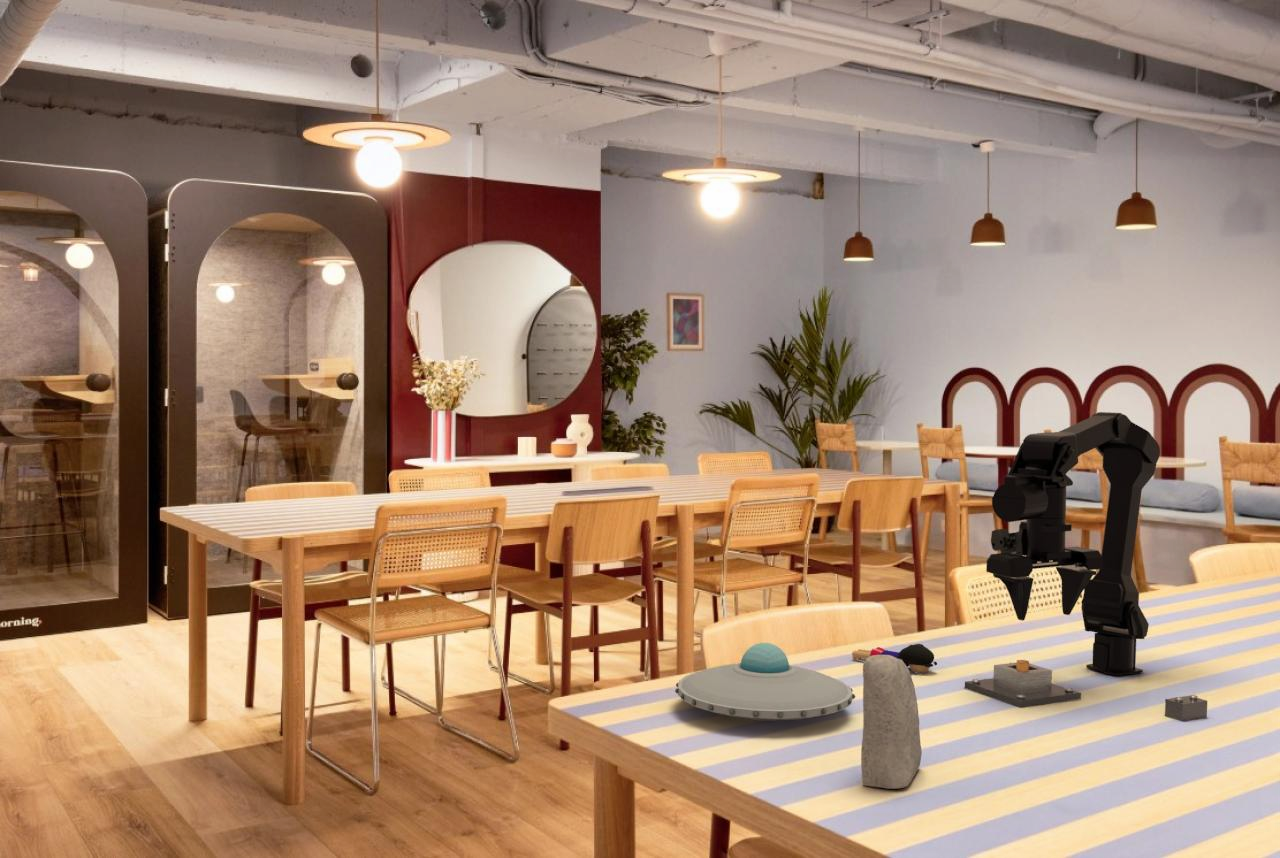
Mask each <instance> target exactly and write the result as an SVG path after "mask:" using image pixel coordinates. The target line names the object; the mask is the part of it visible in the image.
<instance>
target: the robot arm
mask: <svg viewBox="0 0 1280 858" xmlns="http://www.w3.org/2000/svg"><path fill="white" fill-rule="evenodd" d="M1094 449H1095V450H1096V451H1097V452H1098V453H1099V454H1100V456H1101V457H1102V469H1103V471H1104V474H1105V476H1106V478H1107V480H1108V482H1109V494H1108V500H1107V507H1106V508H1107V510H1106V514H1105V515H1106V517H1105V524H1104V531H1103V539H1102V546H1101V552H1100V551H1099V550H1097V549H1094V548H1093V549H1092V548H1087V547H1082V546H1081V547H1080V546H1068V547H1067V546H1066V532H1072V529H1073V527H1072V524H1070V523H1066V522H1067V521H1066V518H1067V517H1066V514H1067V487H1070V486H1071V487H1072V486H1073V484H1074V481H1073V480H1072V479H1071V478H1070V477H1069V476H1068V475H1067V473H1068V472H1070V471H1071V470H1072V469H1073V468H1074V467H1075V466H1077V465H1078V464H1079V457H1080V456H1081V455H1083V454H1085V453H1087V452H1089V451H1091V450H1094ZM1160 454H1161V449H1160V444H1159V443H1158V442H1157V440H1156V439H1155V437H1154V436H1153V435H1152V434H1151V433H1150V432H1149V431H1148V430H1147V429H1146V428H1143V427H1141V426H1139V425H1138V424H1136V423H1134V422H1132V421H1131V419H1129V417H1128V416H1127V415H1126V414H1123V413H1121V412H1111V411H1110V412H1109V411H1108V412H1105V411H1099V412H1097V413H1093V415H1092V416H1090V417H1087V418H1086V419H1084V420H1081V421H1079V422H1077V423H1075V424H1072V425H1070V426H1069V427H1065V428H1064V429H1062V430H1059V431H1055V432H1054V431H1053V432H1037V433H1036V432H1035V433H1030V434H1027V436H1025V438H1024V439H1023V440H1022V442H1021V444H1020V447H1019V448H1018V451H1017V453H1016V456H1015V458H1014V460H1013V462H1012V465H1011V467H1010V470H1009V471H1008V474H1007V475H1005V476H1004V479H1003V480H1004V482H1003V484H1001V485H1000V486H998V487H997V488H996V490H995V491H994V493H993V496H992V498H991V506H992V509H993V512H994V513H995V515H996V516H997V517H998V518H999V519H1000V520H1001V521H1004V522H1007V523H1011V522H1012V523H1013V522H1020V523H1019V526H1018V531H1016V532H1009V531H1008V529H1006V528H999V529H998V528H997V529H995V530H991V537H990V544H991V549H992V550H993V551H994V552H997V551H998V553H991V554H990V555H989V556H988V557H987V559H986V568H985V569H986V570H985V571H986V573H990V574H992V575H993V578H996V579H999V580H1000V581H1001V582H1002V583H1003V584H1004V586H1005V588H1006V590H1007V592H1008V594H1009V597H1010V600H1011V603H1012V606H1013V609H1014V612H1015V615H1016V618H1017V620H1019V621H1025V619H1026V616H1027V614H1028V608H1029V603H1030V598H1031V593H1032V589H1033V582H1034V578H1033V577H1029V576H1030V575H1031V573H1032V572H1033V570H1035V569H1046V568H1055V569H1056V571H1057V573H1058V575H1059V577H1060V578H1061V608H1062V614H1063V615H1066V616H1070V615H1071V613H1072V611H1073V610H1074V608H1075V606H1076V604H1077V602H1078V600H1079V599H1080V596H1081V595H1082V593H1083V597H1082V600H1081V612H1082V619H1083V625H1084V626H1083V627H1084V632H1091V633H1094V642H1093V644H1092V663H1089V664H1086V665H1085V668H1086V669H1090V670H1093V671H1096V672H1100V673H1104V674H1106V675H1111V676H1115V677H1119V676H1126V675H1134V674H1142V673H1144V669H1142V668H1139V667H1136V662H1137V661H1136V660H1137V659H1136V658H1137V640H1145V637H1147V635H1148V632H1149V626H1150V623H1149V622H1148V620H1147V618H1146V616H1145V614H1144V613H1143V611H1142V609H1141V607H1140V606H1139V605H1140V604H1139V603H1140V601H1139V600H1140V592H1139V590H1138V588H1137V586H1136V584H1135V582H1134V579H1133V578H1132V568H1133V562H1134V560H1133V559H1134V553H1135V544H1136V536H1137V529H1138V522H1139V513H1140V507H1141V498H1142V491H1143V488H1144V487H1145V486H1146V485H1147V484H1148V482H1149V481H1150V480H1151V479H1152V478H1153V477H1154V475H1155V473H1156V472H1155V471H1156V468H1157V463H1158V461H1159V459H1160ZM1025 520H1026V521H1025ZM999 552H1000V553H999ZM1097 570H1098V572H1097Z"/></svg>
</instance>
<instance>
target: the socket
mask: <svg viewBox="0 0 1280 858" xmlns="http://www.w3.org/2000/svg"><path fill="white" fill-rule="evenodd" d="M1016 667H1017V661H1016V662H1009V663H999V664H995V665H994V664H993V678H994V681H993V684H994V685H997V686H1000V687H1003V688H1006V689H1009V690H1012V691H1015V692H1017V693H1020V694H1024V693H1031V692H1039V691H1046V690H1051V687H1052V684H1053V683H1052V682H1053V670H1052V669H1050V668H1046V667H1042V666H1039V665H1036V664H1032V663H1030V662H1029V670H1028V671H1020V670H1017V669H1016Z"/></svg>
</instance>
